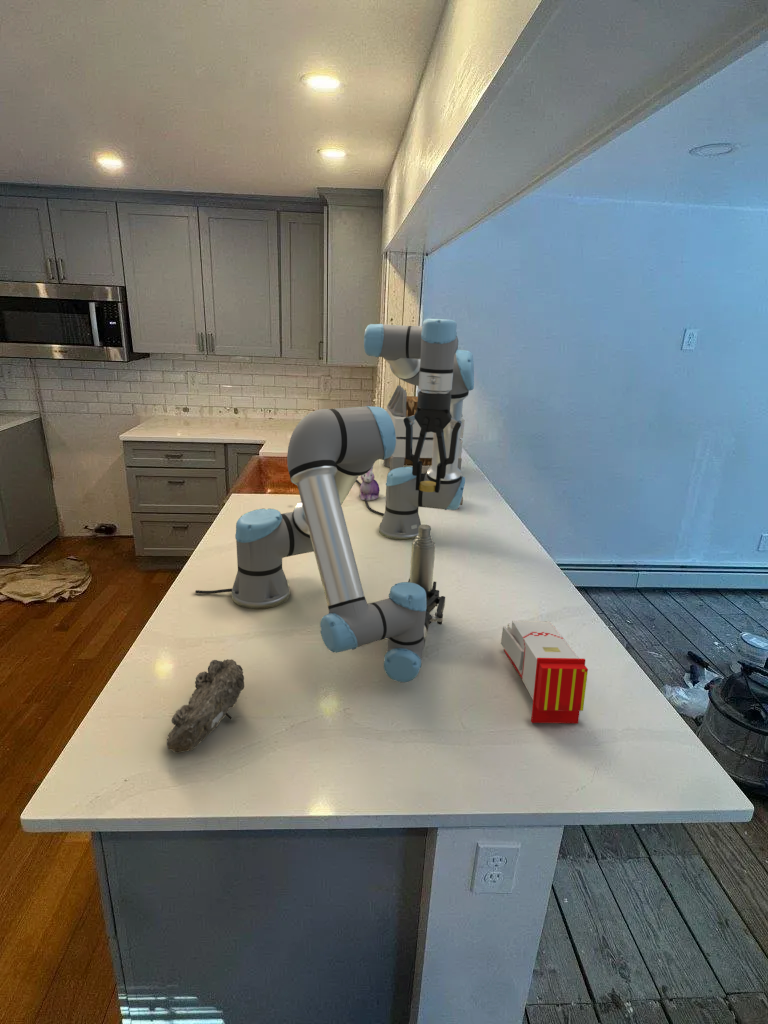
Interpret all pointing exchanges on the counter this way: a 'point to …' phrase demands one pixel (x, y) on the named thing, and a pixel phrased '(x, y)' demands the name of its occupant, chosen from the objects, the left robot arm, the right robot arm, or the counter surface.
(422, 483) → the cap
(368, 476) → the figurine
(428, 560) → the bottle
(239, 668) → the fossil
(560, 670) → the toy
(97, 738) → the counter surface
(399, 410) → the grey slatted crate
